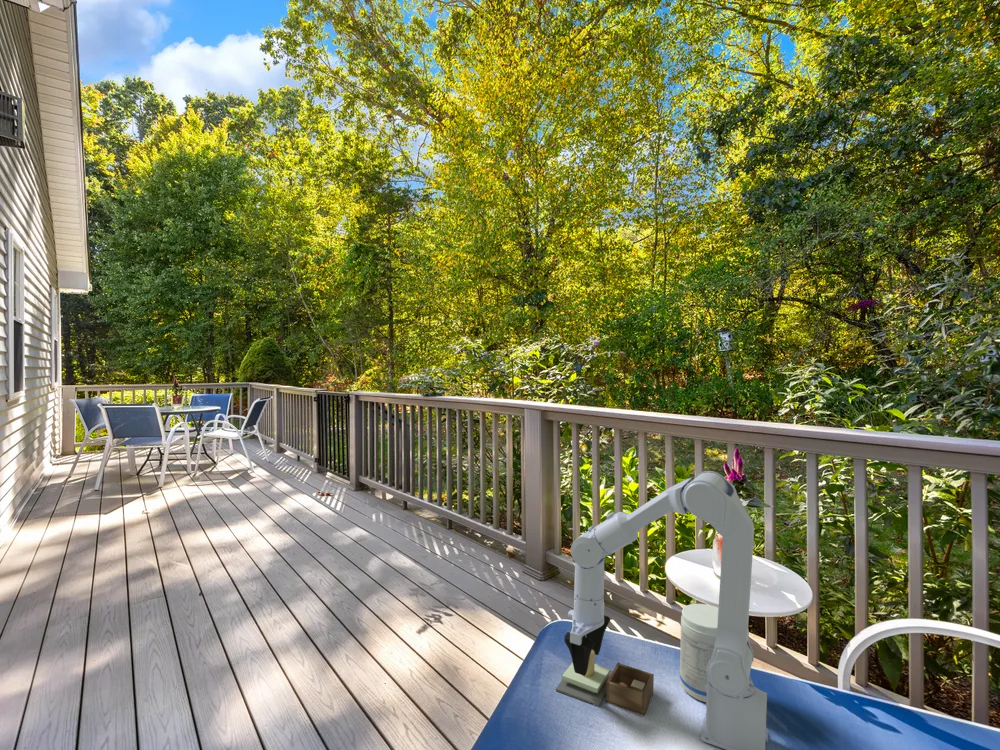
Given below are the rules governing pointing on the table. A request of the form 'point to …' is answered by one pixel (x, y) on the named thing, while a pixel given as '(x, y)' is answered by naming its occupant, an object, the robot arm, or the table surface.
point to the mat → (583, 692)
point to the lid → (588, 676)
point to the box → (630, 688)
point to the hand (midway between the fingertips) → (587, 662)
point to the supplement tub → (697, 647)
